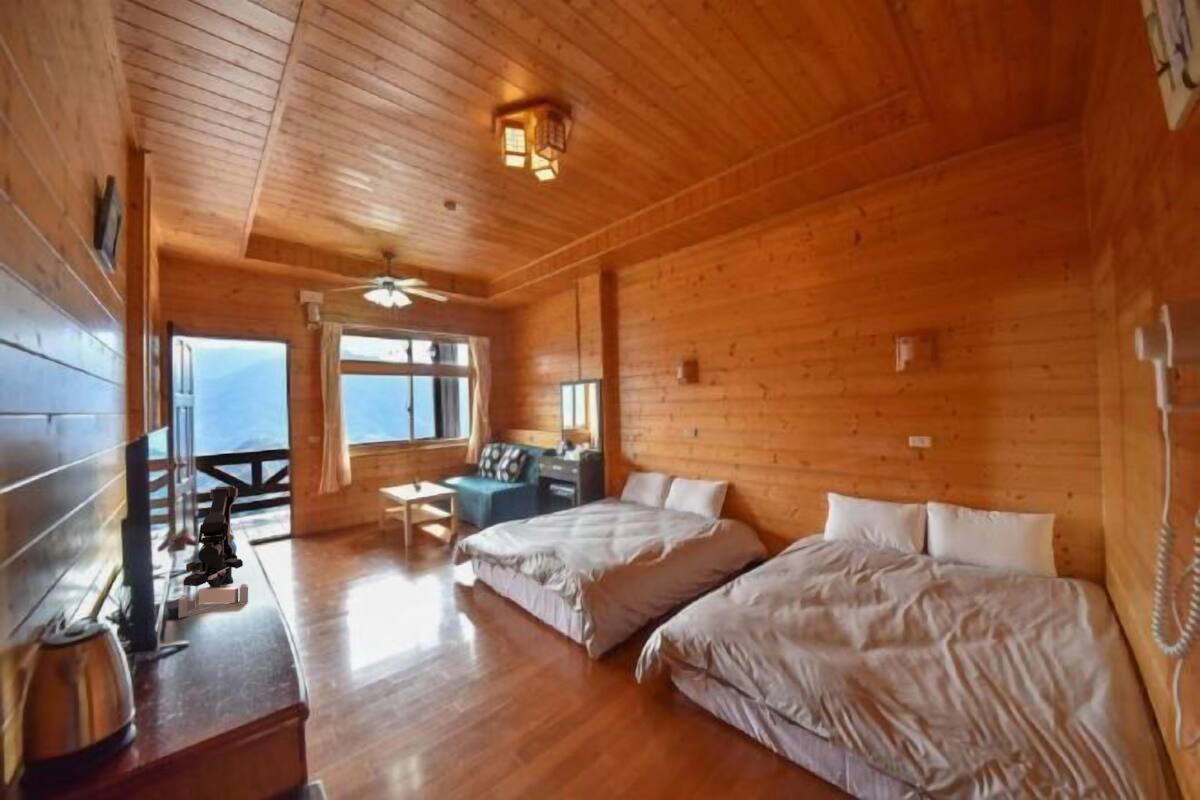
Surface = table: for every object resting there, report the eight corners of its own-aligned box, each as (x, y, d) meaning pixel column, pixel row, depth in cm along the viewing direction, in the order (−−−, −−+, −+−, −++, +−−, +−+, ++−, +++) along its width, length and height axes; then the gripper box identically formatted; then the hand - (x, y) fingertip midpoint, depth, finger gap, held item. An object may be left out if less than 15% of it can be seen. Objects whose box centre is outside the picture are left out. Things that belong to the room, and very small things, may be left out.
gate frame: (178, 615, 165) (178, 595, 165) (247, 600, 177) (247, 581, 177) (178, 618, 162) (178, 598, 162) (248, 603, 175) (248, 584, 175)
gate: (202, 601, 174) (202, 587, 174) (239, 601, 175) (239, 587, 175) (198, 603, 173) (198, 589, 173) (236, 603, 173) (236, 589, 173)
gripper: (218, 543, 186) (219, 581, 187) (169, 561, 167) (171, 604, 168) (243, 544, 184) (244, 583, 185) (196, 563, 166) (198, 606, 167)
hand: (215, 593), depth 176 cm, fingers closed
